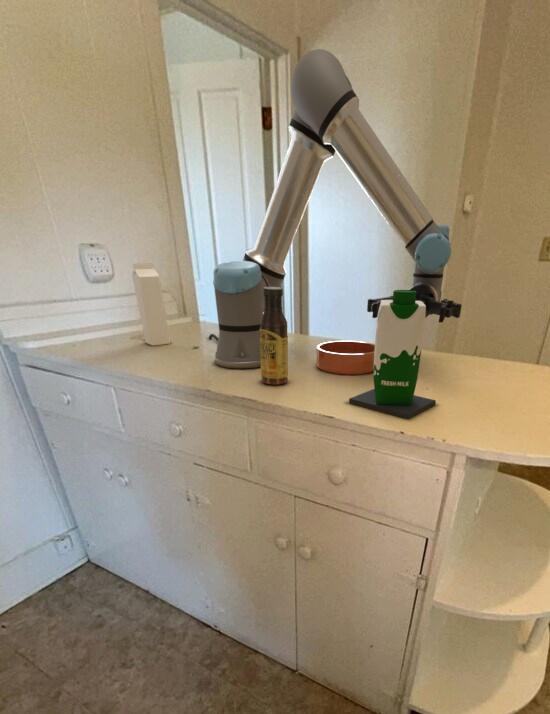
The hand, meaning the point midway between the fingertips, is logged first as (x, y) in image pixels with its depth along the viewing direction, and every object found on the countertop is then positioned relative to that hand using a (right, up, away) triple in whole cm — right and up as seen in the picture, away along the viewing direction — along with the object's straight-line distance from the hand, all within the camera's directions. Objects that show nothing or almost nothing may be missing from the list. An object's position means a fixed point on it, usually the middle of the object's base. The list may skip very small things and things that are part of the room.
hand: (407, 312), depth 86 cm
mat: (-3, -18, +1) cm, 18 cm away
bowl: (-10, -2, +26) cm, 28 cm away
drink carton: (-3, -18, +1) cm, 18 cm away
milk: (-70, +13, +49) cm, 86 cm away
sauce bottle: (-28, -10, +14) cm, 33 cm away
